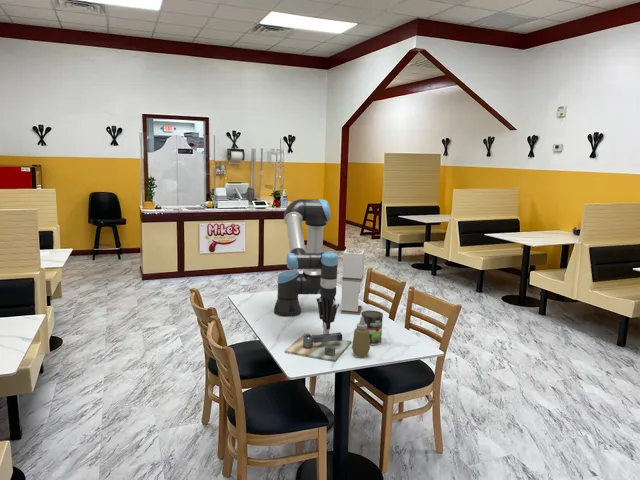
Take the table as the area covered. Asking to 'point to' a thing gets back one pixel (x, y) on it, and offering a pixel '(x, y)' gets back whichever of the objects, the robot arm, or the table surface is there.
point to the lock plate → (319, 349)
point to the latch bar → (320, 339)
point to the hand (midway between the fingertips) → (326, 335)
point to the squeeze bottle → (361, 339)
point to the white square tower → (352, 282)
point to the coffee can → (373, 325)
